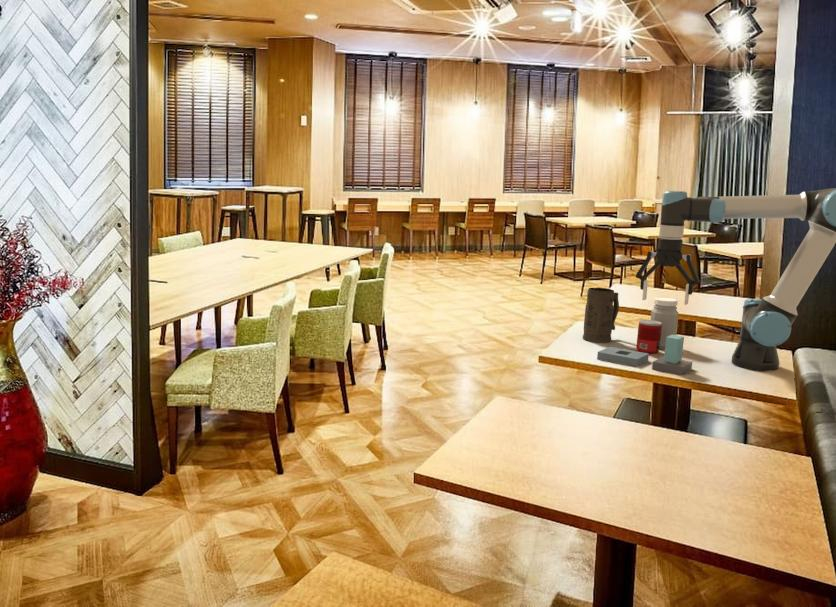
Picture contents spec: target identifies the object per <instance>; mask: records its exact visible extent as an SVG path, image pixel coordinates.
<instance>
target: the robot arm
mask: <svg viewBox="0 0 836 607" xmlns="http://www.w3.org/2000/svg"><path fill="white" fill-rule="evenodd" d="M660 210H661V211H660V224H659V232H658V233H659V234H658V236H659V237H660V238H659V239H658V245H657V246H658V247H657V251H656V252H654V251H652V250H649V251H647V254H646V257H645V260H644V261H643V263H642V265H641V266H640V268H639V270H637V272H636V275H635V278H637V279H639V280H640V287H639V288H640V290H641V291H642V298H641V299H642V301H646V300H647V296H648V295H647V294H648V284H649V280H648V279H647V278H648V277H649V276H651V275H652V273H654V272H655V271H656V269H658V268H659V267H660V266H662V267H669V268H673V267H676V269H677V270H678V271H679V273H680V274H681V276H683V278H684V280H685V281H686V282H687V284H686V285H685V292H684V294H685V296H684V305H685V306H687V305H688V304H689V300H690V299H689V298H690V295H692V294H693V292H694V285H697V284H699V283H700V278H699V276H698V275H699V274H698V273H697V271H696V268H695V265H694V264H693V261H692V260H693V259H692V254H690V253H688V254H683V243H684V242H683V239H682V238H684V230H685V222H686V221H687V222H702V223H703V222H704V223H705V222H706V223H722V222H723V221H724V220H725V219H726V220H731V219H732V220H733V219H734V220H735V219H736V220H737V219H740V220H741V219H744V220H745V219H746V220H747V219H750V220H751V219H799V220H800V221H802V222H807V221H808V225H809V229H808V232H807V233H806V235H805V237H804V238H803V239H802V241H801V243H800V245H799V246H798V248H797V250H796V252H795V253H794V254H793V257H792V258H791V260H790V262H789V263H788V265H787V266H786V268H785V270H784V271H783V273H782V275H781V276H780V278H779V279H778V282H777V283H776V285H775V286H774V288H773V290H772V291H771V293H770V295H767V296H762V298H761V299H758V298H755V299H754V298H746V299H745V300H744V302H743V306H742V317H741V325H740V334H739V341H738V342H737V344H736V345H737V346H736V347H735V349H734V351H733V354H732V355H731V364H733V365H735V366H737V367H740V368H744V369H749V370H753V371H765V370H767V371H769V370H771V371H777V370H779V368H780V358H779V353H778V349H777V346H780V345H782V344H784V343H785V342H786V341H788V340H789V338H790V336H791V331H792V325H793V323H794V321H795V320H796V319H797V317H798V315H799V314H798V310H797V307H798V306H799V304H800V302H801V300H802V299H803V297H804V296H805V294H806V293H807V291H808V289H809V287H810V286H811V284H812V283H813V281H814V279H815V277H816V276H817V274H818V273H819V271H820V269H821V268H822V266H823V264H824V263H825V261H826V259H827V258H828V256H829V255H830V253H831V251H832V250H833V249H834V247H835V245H836V187H832V188H831V187H830V188H825V189H819V190H818V189H817V190H810V191H809V190H807V191H802V192H800V193H799V194H777V195H776V194H775V195H771V194H770V195H769V194H768V195H767V194H766V195H737V196H736V195H735V196H733V195H730V196H727V195H726V196H697V197H688V192H687V191H686V190H685V191H683V190H681V191H680V190H667V191H665V192H663V194H662V202H661V209H660ZM654 258H656V259H657V261H656V262H655V263H654V265H652V266H651V267H650V268H649V269H648V270H647V271H646V272H645V273H644V271H645V270H646V268H647V267H648V265H649V263H650V262H651V260H652V259H654ZM682 259H684V261H685V262H686V264H687V267H688V269H689V272H690V274H691V276H690V274H689V273H688V272H687V271H686V269H685V267H684V266H683V264H682V262H680V261H681V260H682ZM643 273H644V274H643Z"/></svg>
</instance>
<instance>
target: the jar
mask: <svg viewBox="0 0 836 607" xmlns="http://www.w3.org/2000/svg"><path fill="white" fill-rule="evenodd" d="M678 302H679V301H678V299H676V298H673V297H663V296H662V297H659V296H658V297H655V298H654V305H653V308H652V309H651V313H650V320H654V321H659V322H661V323H662V330H661V339H660V348H659V350H665V345H666V337H668V336H670V335H677V330H678V319H679V311H678V307H677V306H678Z"/></svg>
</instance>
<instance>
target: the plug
mask: <svg viewBox="0 0 836 607" xmlns="http://www.w3.org/2000/svg"><path fill="white" fill-rule="evenodd" d="M684 340H685V336H683V335H679V334H678V335H677V334H676V335H670V336H668V337H666V345H665V349H664V353H663V354H664V355H663V357H664V361H666V363H672V364H678V363H679V361H681V360H683V351H684V350H683V349H684V344H685V343H684V342H685V341H684Z"/></svg>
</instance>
